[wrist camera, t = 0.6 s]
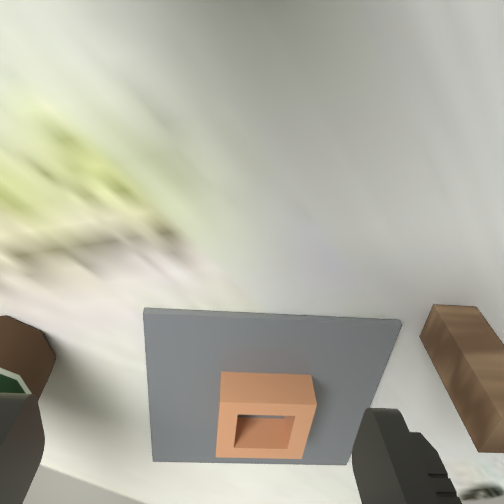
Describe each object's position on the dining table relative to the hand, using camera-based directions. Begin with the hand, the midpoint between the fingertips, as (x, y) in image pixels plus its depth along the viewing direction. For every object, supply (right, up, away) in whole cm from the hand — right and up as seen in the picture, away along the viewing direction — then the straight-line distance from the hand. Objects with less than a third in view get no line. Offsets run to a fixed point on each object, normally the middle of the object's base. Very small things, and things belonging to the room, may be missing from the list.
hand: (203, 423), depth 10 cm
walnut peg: (+17, -1, +23) cm, 29 cm away
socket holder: (+2, -9, +28) cm, 29 cm away
